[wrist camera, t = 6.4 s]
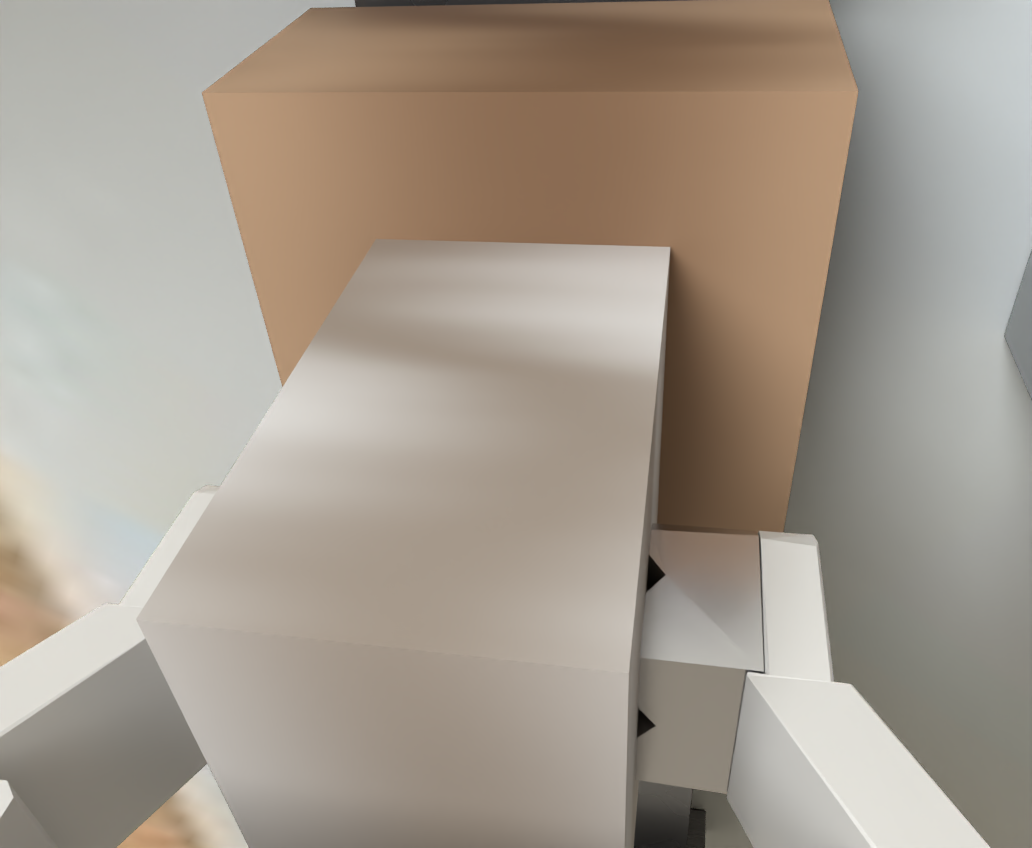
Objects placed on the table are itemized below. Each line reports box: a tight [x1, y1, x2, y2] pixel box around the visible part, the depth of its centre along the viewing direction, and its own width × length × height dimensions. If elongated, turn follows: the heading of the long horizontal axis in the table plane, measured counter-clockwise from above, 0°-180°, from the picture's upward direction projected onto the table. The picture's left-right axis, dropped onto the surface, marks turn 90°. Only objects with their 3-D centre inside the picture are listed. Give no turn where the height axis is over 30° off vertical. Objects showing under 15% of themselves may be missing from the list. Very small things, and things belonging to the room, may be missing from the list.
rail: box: [355, 0, 705, 848], centre depth 16 cm, size 6×24×3 cm, turn 4°
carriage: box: [136, 0, 858, 848], centre depth 10 cm, size 6×8×8 cm
